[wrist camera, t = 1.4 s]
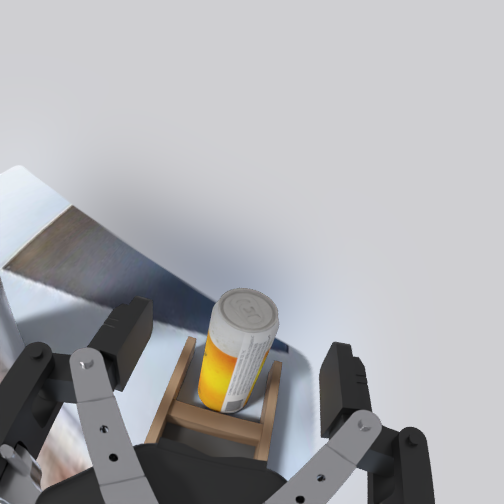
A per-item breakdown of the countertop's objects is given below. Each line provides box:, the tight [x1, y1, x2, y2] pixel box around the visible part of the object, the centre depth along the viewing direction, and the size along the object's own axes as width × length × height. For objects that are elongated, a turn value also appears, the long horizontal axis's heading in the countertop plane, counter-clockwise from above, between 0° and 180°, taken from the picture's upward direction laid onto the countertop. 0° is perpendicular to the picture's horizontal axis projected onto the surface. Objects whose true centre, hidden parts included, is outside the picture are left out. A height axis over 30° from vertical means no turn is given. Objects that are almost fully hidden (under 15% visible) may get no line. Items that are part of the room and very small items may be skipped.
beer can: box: [198, 288, 279, 413], centre depth 32 cm, size 6×6×15 cm
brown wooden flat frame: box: [144, 336, 282, 461], centre depth 24 cm, size 36×12×3 cm, turn 170°
